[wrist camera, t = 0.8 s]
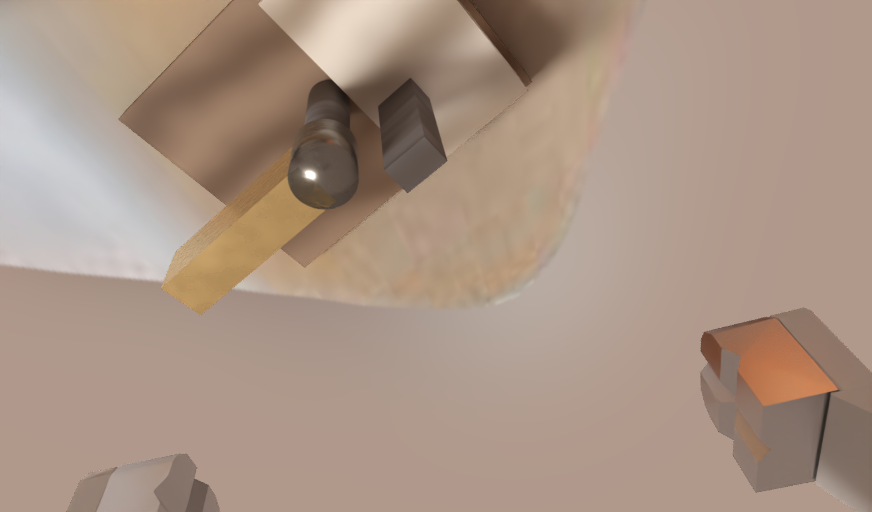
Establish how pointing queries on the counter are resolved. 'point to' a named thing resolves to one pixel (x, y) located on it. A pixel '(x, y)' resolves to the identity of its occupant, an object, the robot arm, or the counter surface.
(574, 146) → the counter surface
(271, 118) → the lock plate
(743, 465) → the robot arm
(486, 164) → the counter surface
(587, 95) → the counter surface
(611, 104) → the counter surface
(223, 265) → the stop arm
